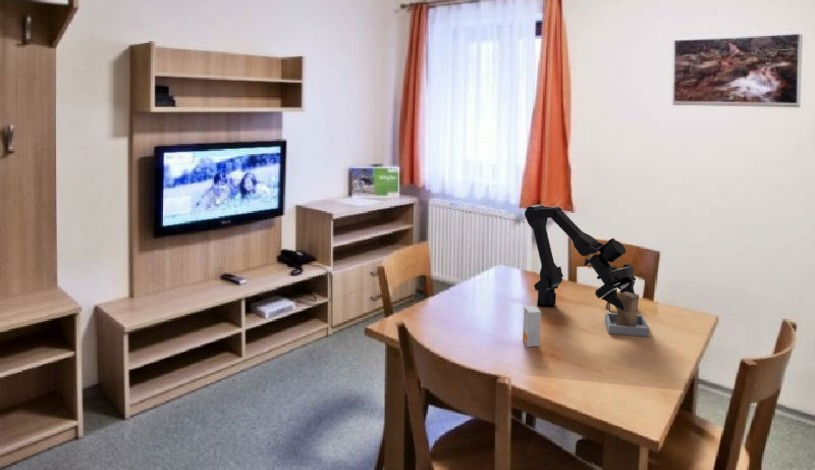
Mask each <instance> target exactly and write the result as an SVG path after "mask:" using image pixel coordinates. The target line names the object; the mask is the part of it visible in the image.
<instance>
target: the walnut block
mask: <svg viewBox="0 0 815 470" xmlns="http://www.w3.org/2000/svg"><path fill="white" fill-rule="evenodd" d="M619 299H620V301H621V303H622V304H623V306H624V308H625V309H624V310H620V309H619V308H618V310H617V314H618V315H617V325H618V326H630V327H636V321H637V315H638V312H639V311H638V310H639V308H638V307H639V299H640V295H639V294H637V293H635V294H634V293H630V292H626V291H625V292H623V293H621V294H619Z"/></svg>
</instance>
